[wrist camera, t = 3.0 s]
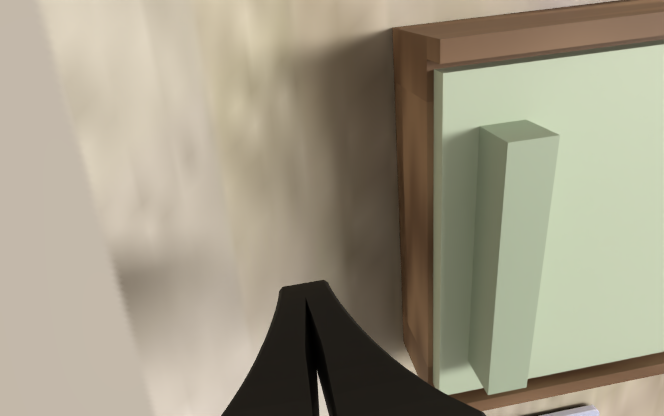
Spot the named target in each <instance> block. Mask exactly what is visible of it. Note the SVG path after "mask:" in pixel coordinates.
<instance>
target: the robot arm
mask: <svg viewBox="0 0 664 416" xmlns="http://www.w3.org/2000/svg"><path fill="white" fill-rule="evenodd" d="M317 371H318V375H319V379H320V383H321V386H322V390H323V394H324V398H325V401H326V405H327V409H328V413H329V416H486V415H485V414H484V413H483V412H482V411H480V410H478V409H476V408H474V407H471V406H469V405H467V404H465V403H463V402H461V401H459V400H457V399H455V398H453V397H451V396H449V395H447V394H445V393H443V392H442V391H440V390H438V389H436V388H435V387H433V386H431V385H430V384H428V383H427V382H425V381H424V380H423V379H421V378H420V377H418V376H417V375H415V374H414V373H412V372H411V371H409V370H408V369H406V368H405V367H404V366H402V365H401V364H400V363H399V362H397V361H396V360H395V359H393V358H392V357H391V356H390V355H389V354H388V353H386V352H385V351H384V350H383V349H382V348H381V347H380V346H379V345H377V344H376V343H375V342H374V341H373V340H372V339H371V338H370V337H369V336H368V335H367V334H366V333H365V332H364V331H363V330H362V328H361V327H360V326H359V325H358V324H357V323H356V322H355V321H354V319H353V318H352V317H351V316H350V315H349V313H348V312H347V311H346V310H345V308H344V307H343V306H342V305H341V303H340V302H339V300H338V299H337V298H336V296H335V295H334V293H333V291H332V290H331V288H330V286H329V284H328V282H326V281H325V280H320V281H314V282H309V283H303V284H297V285H291V286H285V287H282V288H281V290H280V291H279V298H278V302H277V306H276V310H275V313H274V316H273V319H272V322H271V325H270V328H269V330H268V333H267V336H266V338H265V340H264V343H263V345H262V347H261V349H260V351H259V354H258V356H257V358H256V360H255V362H254V364H253V366H252V368H251V370H250V371H249V373H248V375H247V377H246V378H245V380H244V382H243V384H242V385H241V387H240V389H239V390H238V392H237V393H236V395H235V396H234V398H233V399H232V401H231V402H230V404H229V405H228V407H227V408H226V410H225V411H224V412H223V414H222V415H221V416H319V400H318V383H317ZM540 416H599V411H598V410H597V409H596V407H595V406H593V405H587V406H582V407H578V408H573V409H568V410H563V411H559V412H554V413H549V414H544V415H540Z"/></svg>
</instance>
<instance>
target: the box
mask: <svg viewBox="0 0 664 416" xmlns="http://www.w3.org/2000/svg"><path fill="white" fill-rule="evenodd" d="M663 39H664V0H619V1H611V2H603V3H595V4H586V5H578V6H570V7H561V8H553V9H545V10H536V11H528V12H520V13H511V14H503V15H495V16H486V17H478V18H470V19H461V20H453V21H445V22H436V23H428V24H420V25H411V26H403V27H395V28H393V55H394V83H395V111H396V140H397V168H398V196H399V224H400V252H401V280H402V308H403V336H404V344H405V346H406V349H407V351H408V353H409V356H410V358H411V360H412V363H413V365H414V367H415V370H416V372H417V374H418V377H420V378H421V379H423V380H424V381H425V382H427V383H428V384H430V385H431V386H433V387H435V386H434V384H433V174H434V69H440V68H448V67H456V66H463V65H471V64H479V63H486V62H494V61H502V60H509V59H517V58H525V57H533V56H540V55H548V54H556V53H563V52H571V51H579V50H586V49H594V48H602V47H609V46H617V45H625V44H632V43H640V42H648V41H655V40H663ZM659 374H664V352H659V353H654V354H650V355H645V356H640V357H635V358H630V359H625V360H620V361H615V362H610V363H605V364H600V365H595V366H590V367H585V368H580V369H575V370H570V371H565V372H560V373H555V374H550V375H545V376H540V377H535V378H530V379H528V381H527V387H526V388H521V389H516V390H511V391H506V392H501V393H496V394H491V395H487V393H486V391H485V389H484V388H481V389H476V390H471V391H466V392H461V393H456V394H451V395H449V396H451V397H453V398H455V399H457V400H459V401H461V402H463V403H465V404H467V405H469V406H471V407H474V408H476V409H478V410H480V411H485V410H490V409H494V408H499V407H504V406H509V405H514V404H519V403H523V402H528V401H533V400H538V399H543V398H548V397H552V396H557V395H562V394H567V393H572V392H577V391H582V390H586V389H591V388H596V387H601V386H606V385H611V384H615V383H620V382H625V381H630V380H635V379H640V378H645V377H649V376H654V375H659Z"/></svg>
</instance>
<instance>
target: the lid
mask: <svg viewBox="0 0 664 416" xmlns="http://www.w3.org/2000/svg"><path fill="white" fill-rule="evenodd" d="M659 352H664V39H663V40H655V41H648V42H640V43H632V44H625V45H617V46H609V47H602V48H594V49H586V50H579V51H571V52H563V53H556V54H548V55H540V56H533V57H525V58H517V59H509V60H502V61H494V62H486V63H479V64H471V65H463V66H456V67H448V68H440V69H434V174H433V384H434V386H435V388H436V389H438V390H440V391H442V392H443V393H445V394H447V395H451V394H456V393H461V392H466V391H471V390H476V389H481V388H484V389H485V391H486V393H487V395H491V394H496V393H501V392H506V391H511V390H516V389H521V388H526V387H527V381H528V379H530V378H535V377H540V376H545V375H550V374H555V373H560V372H565V371H570V370H575V369H580V368H585V367H590V366H595V365H600V364H605V363H610V362H615V361H620V360H625V359H630V358H635V357H640V356H645V355H650V354H654V353H659Z"/></svg>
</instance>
